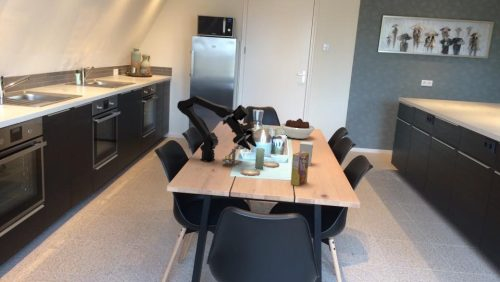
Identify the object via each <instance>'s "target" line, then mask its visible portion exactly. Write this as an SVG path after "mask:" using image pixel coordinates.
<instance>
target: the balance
mask: <svg viewBox="0 0 500 282" xmlns="http://www.w3.org/2000/svg"><path fill="white" fill-rule="evenodd" d="M244 149H246V148H244V147H242V146H240V145H238V144H237V145H236V146H234V147H233V148H232V149H231V152H230V153H229V154H228V155H225V156H224V158H222V159H221V160H222V162H224V165H226V166H230V167H236V166H239V165H240V164H241V163H243V161H242V160H240V159H239V160H238V159H236V151H237V150H244ZM235 165H236V166H235Z"/></svg>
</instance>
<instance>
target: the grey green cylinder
mask: <svg viewBox="0 0 500 282" xmlns="http://www.w3.org/2000/svg"><path fill="white" fill-rule="evenodd" d="M255 148H256V147H255ZM265 149H266V148H263V147H257V148H256V149H255V152H256V153H255V162H254V164H255V165H254V169H255V168H256V169H255V170H257V169H262V170H263V169H264V166H263V165H264V162H265Z"/></svg>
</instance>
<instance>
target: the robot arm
mask: <svg viewBox="0 0 500 282" xmlns="http://www.w3.org/2000/svg"><path fill="white" fill-rule="evenodd" d="M195 105H199V106H201V107H203V108H205V109H208V110H210V111H211V112H213V113H214V114H215V115H216V116H218V117H219V118H221V119H223V120H222V125H223V126H224V125H226V124H227V125H228V127H229V128H230V130H231V133H234V135H235V136H234V137H233V138H232V142H233V143H234V144H235V145H237V146H238V145H240V146H242V147H244V148H245V149H246V150H248V151H251V149H252V148H251V146H252V147H254V148H256V147H257V146H258V145H257V144H256V141H255V138H254V136H255V131H254V129H255V123H254V122H253V121H252V120H249V121H247V122H246V124H243V123H241V122H240V121H243V120H244V119H245V118H246V117H247V116H249V114H250V113H249V110H248V109H247V108H246V107H244V106H243V105H242V104H239V105H238V106H237V107H236V108H235V109H232V108H231V107H229V106H227V105H222V104H218V103H214V102H212V101H210V100H208V99H205V98H203V97H201V96H200V95H193V96H192V97H189V98H187V99H183V100H179V101H178V102H177V105H176V108H177V109H178V111H180V112H181V113H182V114H183V115H185V116H187V118H188V119H189V121H190V123H192V125H193V126H194V127H195V128H194V129H196V131H197V132H198V134H199V135H200V136H201V140H202V144H201V146H200V147H199V148H200V151H201V158H200V159H199V160H200V161H203V162H207V163H208V162H209V163H210V162H213V161H215V160H216V158H215V156H216V155H215V149H216V147H217V146H218V145H219V139H218V138H219V137H218V136H217V135H216V133H215V132H210V131H209V130H208V128H207V127H206V126H205V124H204V123H203V121H202V120H201V119H200V117H199V116H198V115H197V113H196V112H195V109H194V106H195ZM249 144H250V145H251V146H250V145H249Z"/></svg>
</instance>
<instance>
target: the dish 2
mask: <svg viewBox="0 0 500 282" xmlns="http://www.w3.org/2000/svg"><path fill="white" fill-rule="evenodd" d="M265 166H267V168H278V167H280V163H278V162H277V161H276V162H275V161H268V160H267V161H264V165H263V167H265Z"/></svg>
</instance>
